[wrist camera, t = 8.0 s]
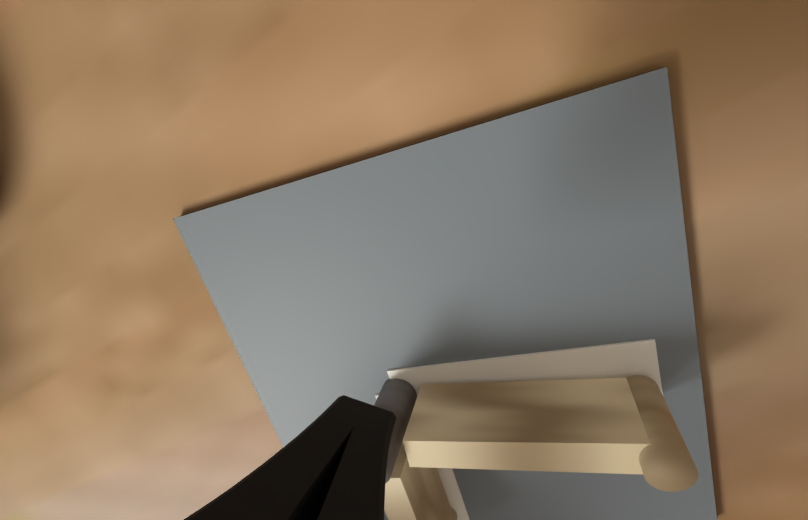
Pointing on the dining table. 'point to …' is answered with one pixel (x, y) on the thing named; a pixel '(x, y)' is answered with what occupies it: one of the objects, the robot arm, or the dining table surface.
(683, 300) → the card
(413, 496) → the fence fixed
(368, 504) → the robot arm
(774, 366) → the dining table surface
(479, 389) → the fence panel
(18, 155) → the dining table surface
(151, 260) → the dining table surface
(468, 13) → the dining table surface
